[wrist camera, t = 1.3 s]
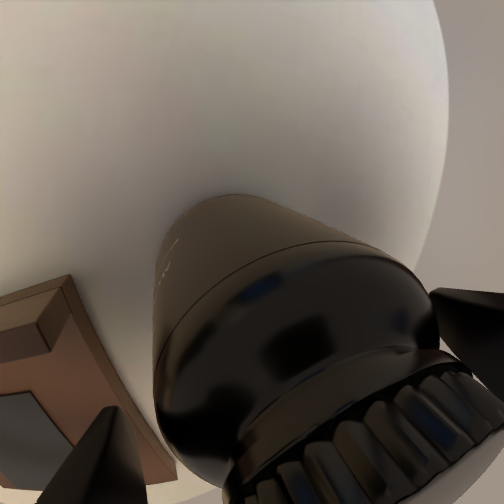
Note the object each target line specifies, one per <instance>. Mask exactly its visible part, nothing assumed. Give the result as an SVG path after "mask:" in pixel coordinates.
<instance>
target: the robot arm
mask: <svg viewBox="0 0 504 504" xmlns="http://www.w3.org/2000/svg"><path fill="white" fill-rule="evenodd" d="M428 295H429V297H430V299H431V302H432V304H433V307H434V309H435V313H436V316H437V320H438V325H439V335H440V337H441V338H442V340H443V341H444V342H445V343H446V345H447V346H448V347H449V348H450V349H451V351H452V352H453V353H454V354H455V355H456V356H457V357H458V358H459V359H460V361H461V362H463V363H464V364H465V365H466V366H467V367H468V368H469V369H470V370H471V372H472V373H473V374H474V375H475V376H476V377H477V378H478V379H479V380H480V381H481V382H482V383H483V384H484V385H485V386H486V388H487V389H488V390H489V391H490V392H491V393H493V394H494V395H495V396H496V397H498V398H499V399H500V400H501V401H502V402H504V293H495V292H484V291H471V290H462V289H450V288H437V289H435V290H433V291H431V292H430V293H429V294H428ZM35 504H148V501H147V492H146V485H145V479H144V474H143V469H142V464H141V459H140V454H139V449H138V444H137V438H136V433H135V430H134V427H133V425H132V424H131V422H130V421H129V419H128V418H127V416H126V415H125V413H124V412H123V410H122V409H121V408H120V407H119V406H118V405H113V406H108V407H104V408H103V409H102V410H101V411H100V412H99V414H98V415H97V416H96V418H95V419H94V421H93V422H92V423H91V425H90V426H89V427H88V429H87V430H86V432H85V433H84V434H83V436H82V437H81V438H80V440H79V441H78V443H77V444H76V445H75V447H74V448H73V450H72V451H71V452H70V454H69V455H68V457H67V458H66V459H65V461H64V462H63V464H62V465H61V466H60V468H59V469H58V471H57V472H56V474H55V475H54V476H53V478H52V479H51V481H50V482H49V484H48V485H47V486H46V488H45V489H44V491H43V492H42V494H41V495H40V497H39V498H38V499H37V503H35Z"/></svg>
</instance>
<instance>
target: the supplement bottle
mask: <svg viewBox="0 0 504 504" xmlns="http://www.w3.org/2000/svg"><path fill="white" fill-rule="evenodd" d="M439 347H440V335H439V325H438V320H437V316H436V313H435V309H434V307H433V304H432V302H431V299H430V297H429V295H428V293H427V292H426V290H425V289H424V287H423V285H422V284H421V282H420V281H419V279H417V277H416V276H415V275H414V274H413V273H412V272H411V271H410V270H409V269H408V268H407V267H406V266H405V265H403V264H402V263H400V262H399V261H397V260H396V259H394V258H392V257H391V256H389V255H387V254H386V253H384V252H382V251H381V250H379V249H377V248H375V247H373V246H371V245H368V244H366V243H364V242H362V241H360V240H358V239H356V238H354V237H351V236H349V235H347V234H345V233H343V232H341V231H338V230H336V229H334V228H332V227H330V226H327V225H325V224H323V223H321V222H319V221H316V220H314V219H312V218H309V217H307V216H305V215H303V214H300V213H298V212H296V211H293V210H291V209H289V208H286V207H284V206H282V205H279V204H277V203H274V202H272V201H269V200H266V199H263V198H260V197H256V196H251V195H240V194H235V195H225V196H219V197H216V198H212V199H210V200H207V201H204V202H202V203H200V204H198V205H197V206H195V207H193V208H192V209H190V210H189V211H188V212H186V213H185V214H184V215H183V216H182V217H181V218H180V219H179V220H178V221H177V222H176V223H175V224H174V225H173V226H172V228H171V229H170V231H169V232H168V234H167V235H166V237H165V239H164V241H163V243H162V246H161V248H160V251H159V254H158V257H157V263H156V270H155V282H154V303H153V346H152V364H153V398H154V406H155V412H156V418H157V423H158V426H159V429H160V432H161V434H162V436H163V438H164V440H165V442H166V444H167V445H168V447H169V448H170V450H171V451H172V452H173V454H174V455H175V456H176V457H177V458H178V460H179V461H180V462H181V463H182V464H183V465H184V466H185V467H187V468H188V469H189V470H190V471H191V472H193V473H194V474H195V475H197V476H198V477H199V478H201V479H203V480H205V481H206V482H208V483H210V484H212V485H214V486H217V487H219V488H222V500H223V503H224V504H453V503H454V502H455V501H456V500H457V499H458V498H459V497H461V496H462V495H463V494H464V493H465V492H466V491H467V490H468V489H469V488H470V487H471V486H472V485H473V484H474V483H475V482H476V480H477V479H478V478H479V477H480V476H481V475H482V474H483V473H484V472H485V471H486V469H487V468H488V467H489V466H490V465H491V463H492V462H493V461H494V460H495V458H496V457H497V455H498V454H499V453H500V451H501V450H502V448H503V447H504V402H502V401H501V400H500V399H499V398H498V397H496V396H495V395H494V394H493V393H491V392H490V391H489V390H488V389H486V388H485V387H484V386H482V385H481V384H480V383H479V382H477V381H476V380H475V379H473V375H472V372H471V370H470V369H469V368H468V367H467V366H466V365H465V364H464V363H463V362H461V361H460V360H458V359H457V358H455V357H454V356H452V355H451V354H449V353H447V352H445V351H442V350H439Z"/></svg>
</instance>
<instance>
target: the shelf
mask: <svg viewBox="0 0 504 504" xmlns="http://www.w3.org/2000/svg"><path fill="white" fill-rule="evenodd" d="M113 405H118V406H119V407H120V408H121V409H122V410H123V412H124V413H125V415H126V416H127V418H128V419H129V421H130V422H131V424H132V425H133V427H134V430H135V433H136V438H137V444H138V449H139V454H140V459H141V464H142V469H143V474H144V479H145V485H151V484H158V483H164V482H169V481H175V480H178V478H177V472H176V465H175V462H174V461H173V460H172V458H171V457H170V456H169V454H168V453H167V452H166V450H165V449H164V448H163V446H162V445H161V443H160V442H159V441H158V439H157V438H156V436H155V435H154V433H153V432H152V430H151V429H150V427H149V426H148V424H147V423H146V421H145V420H144V418H143V417H142V415H141V414H140V412H139V411H138V409H137V407H136V406H135V404H134V403H133V401H132V399H131V398H130V396H129V394H128V393H127V391H126V389H125V388H124V386H123V384H122V382H121V381H120V379H119V377H118V375H117V374H116V372H115V370H114V368H113V366H112V364H111V363H110V361H109V359H108V357H107V355H106V353H105V351H104V349H103V347H102V345H101V343H100V341H99V339H98V337H97V335H96V333H95V331H94V329H93V327H92V325H91V322H90V320H89V318H88V316H87V314H86V311H85V309H84V307H83V305H82V302H81V300H80V298H79V295H78V293H77V290H76V288H75V285H74V283H73V280H72V278H71V275H66V276H62V277H59V278H56V279H53V280H50V281H47V282H44V283H41V284H38V285H35V286H32V287H29V288H26V289H23V290H20V291H17V292H14V293H11V294H9V295H6V296H3V297H0V485H1V486H2V487H3V488H10V489H21V490H35V491H44V489H45V488H46V486H47V485H48V484H49V482H50V481H51V479H52V478H53V476H54V475H55V474H56V472H57V471H58V469H59V468H60V466H61V465H62V464H63V462H64V461H65V459H66V458H67V457H68V455H69V454H70V452H71V451H72V450H73V448H74V447H75V445H76V444H77V443H78V441H79V440H80V438H81V437H82V436H83V434H84V433H85V432H86V430H87V429H88V427H89V426H90V425H91V423H92V422H93V421H94V419H95V418H96V416H97V415H98V414H99V412H100V411H101V410H102V409H103V408H104V407H108V406H113Z"/></svg>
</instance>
